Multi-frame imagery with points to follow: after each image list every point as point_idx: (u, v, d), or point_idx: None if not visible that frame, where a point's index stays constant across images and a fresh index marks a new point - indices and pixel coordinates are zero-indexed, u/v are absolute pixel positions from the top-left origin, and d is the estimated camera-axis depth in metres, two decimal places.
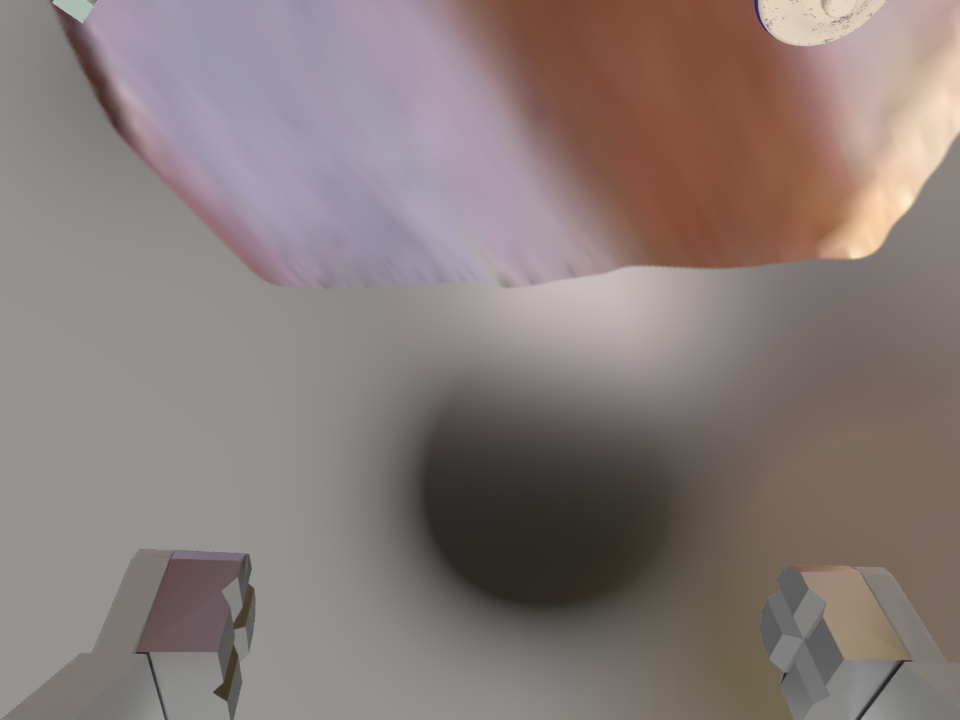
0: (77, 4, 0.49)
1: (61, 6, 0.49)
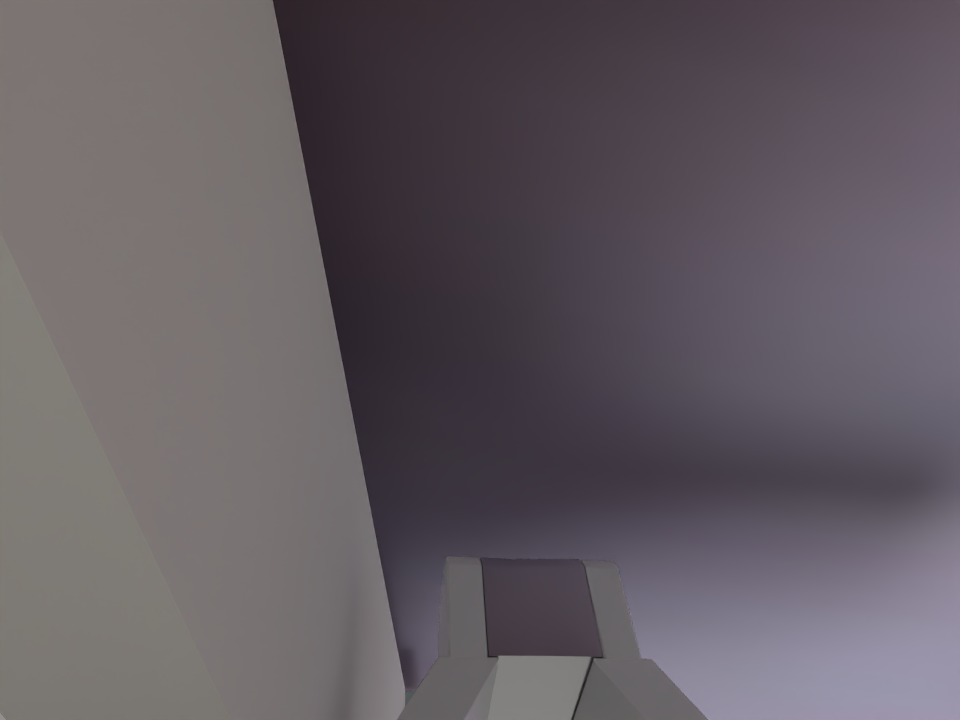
0: None
1: None
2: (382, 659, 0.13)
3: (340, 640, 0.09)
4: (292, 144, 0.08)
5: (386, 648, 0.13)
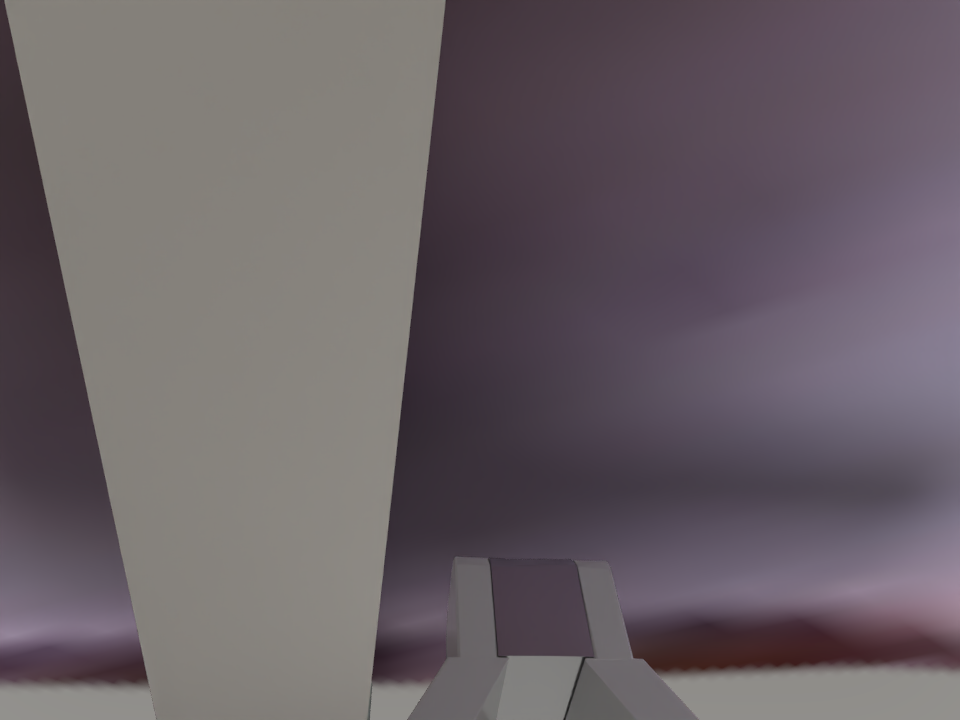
0: None
1: None
2: None
3: None
4: None
5: None
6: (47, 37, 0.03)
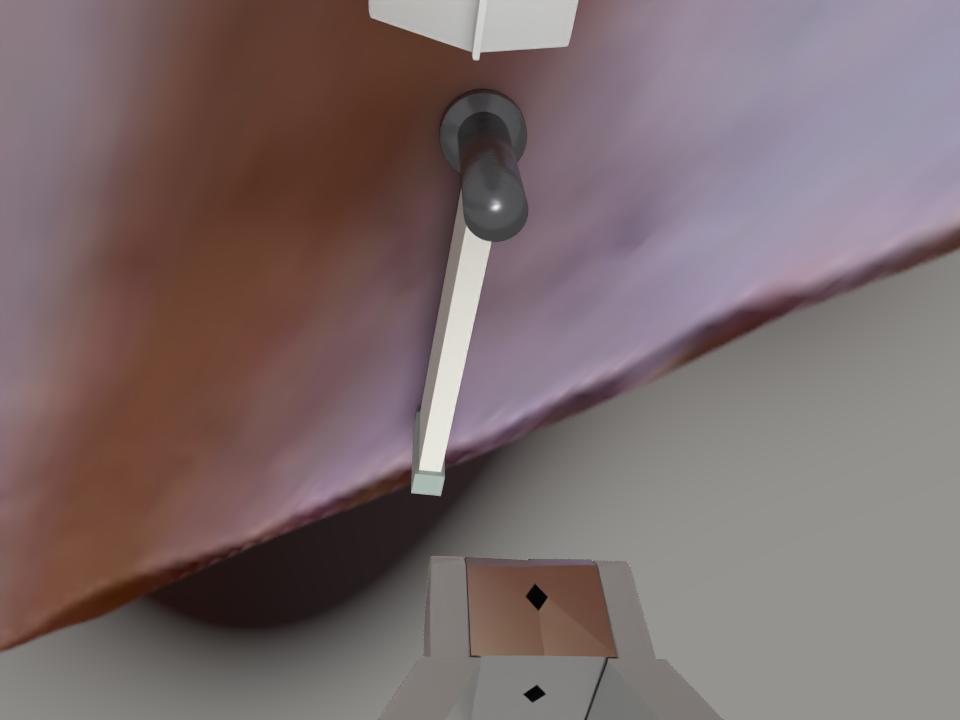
0: (431, 483, 0.48)
1: (419, 491, 0.49)
2: None
3: None
4: None
5: None
6: (457, 283, 0.40)
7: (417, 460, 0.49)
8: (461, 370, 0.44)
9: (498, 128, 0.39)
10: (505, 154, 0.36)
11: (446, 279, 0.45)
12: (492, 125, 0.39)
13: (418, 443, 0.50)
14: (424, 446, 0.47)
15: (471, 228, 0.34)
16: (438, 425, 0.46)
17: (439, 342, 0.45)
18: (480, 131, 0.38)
